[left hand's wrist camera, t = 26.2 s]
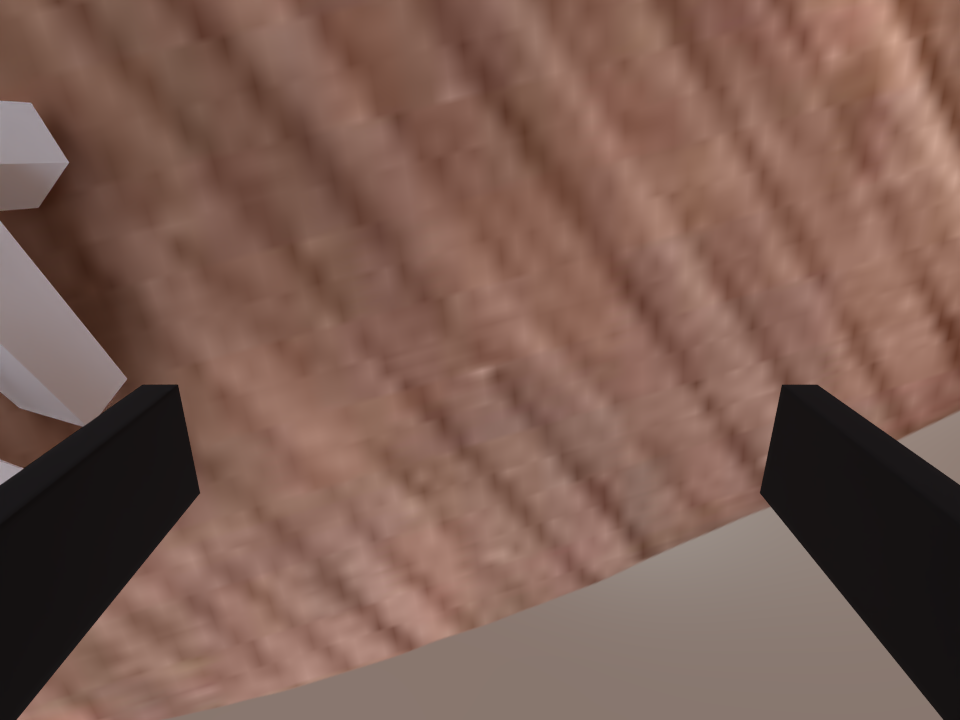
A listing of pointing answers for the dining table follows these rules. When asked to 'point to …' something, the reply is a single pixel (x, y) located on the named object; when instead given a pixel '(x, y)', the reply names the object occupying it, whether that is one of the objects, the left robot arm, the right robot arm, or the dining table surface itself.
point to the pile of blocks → (41, 296)
